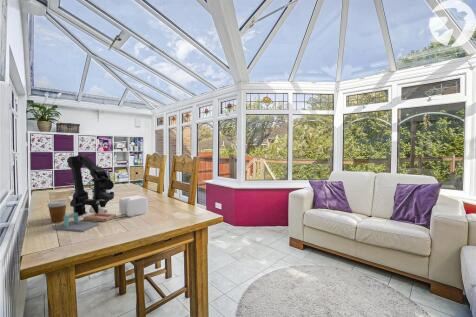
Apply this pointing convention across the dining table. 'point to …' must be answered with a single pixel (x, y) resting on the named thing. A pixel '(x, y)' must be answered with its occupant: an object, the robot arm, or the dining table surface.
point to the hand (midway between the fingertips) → (99, 212)
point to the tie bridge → (75, 215)
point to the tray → (100, 217)
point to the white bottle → (99, 210)
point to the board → (77, 226)
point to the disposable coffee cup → (57, 210)
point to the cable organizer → (133, 205)
